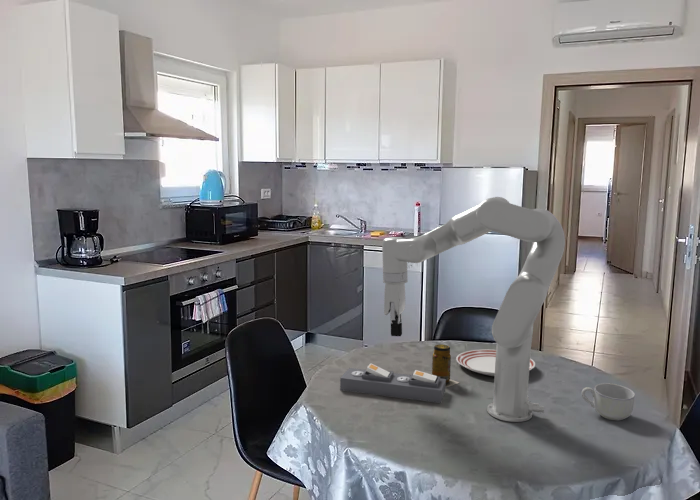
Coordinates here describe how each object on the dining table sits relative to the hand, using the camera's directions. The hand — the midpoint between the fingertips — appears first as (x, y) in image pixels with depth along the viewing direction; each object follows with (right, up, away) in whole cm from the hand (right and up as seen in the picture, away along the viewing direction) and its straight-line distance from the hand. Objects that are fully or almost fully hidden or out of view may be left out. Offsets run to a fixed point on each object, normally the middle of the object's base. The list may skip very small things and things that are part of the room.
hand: (396, 335), depth 180 cm
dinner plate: (+37, -16, +27) cm, 49 cm away
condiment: (+16, -18, +12) cm, 27 cm away
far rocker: (-6, -12, +5) cm, 14 cm away
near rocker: (+9, -13, 0) cm, 16 cm away
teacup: (+60, -22, -12) cm, 65 cm away
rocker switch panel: (-1, -18, +4) cm, 19 cm away
